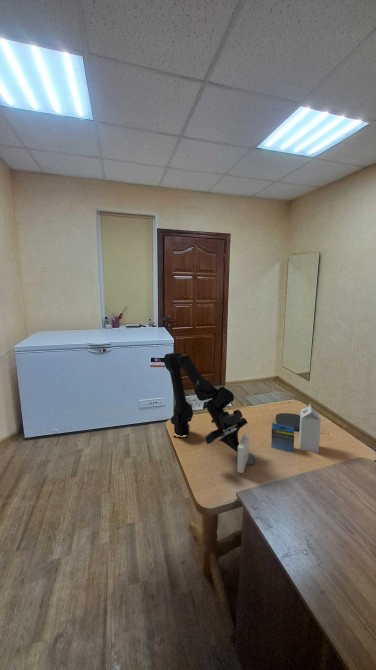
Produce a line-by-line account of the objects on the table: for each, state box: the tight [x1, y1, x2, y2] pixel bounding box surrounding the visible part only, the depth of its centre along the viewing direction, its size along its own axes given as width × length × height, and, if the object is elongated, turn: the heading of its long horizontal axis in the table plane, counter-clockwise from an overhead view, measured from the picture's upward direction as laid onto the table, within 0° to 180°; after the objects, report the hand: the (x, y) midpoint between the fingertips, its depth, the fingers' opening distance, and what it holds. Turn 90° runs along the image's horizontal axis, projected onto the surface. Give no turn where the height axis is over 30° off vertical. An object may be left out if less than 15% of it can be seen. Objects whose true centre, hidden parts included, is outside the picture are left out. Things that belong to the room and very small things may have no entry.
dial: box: [236, 433, 256, 474], centre depth 101 cm, size 14×7×11 cm, turn 157°
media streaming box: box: [275, 412, 300, 432], centre depth 136 cm, size 15×15×3 cm
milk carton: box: [298, 404, 321, 455], centre depth 112 cm, size 7×7×19 cm
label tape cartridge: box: [270, 422, 295, 453], centre depth 112 cm, size 9×4×12 cm, turn 65°
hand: (239, 451), depth 99 cm, fingers closed
